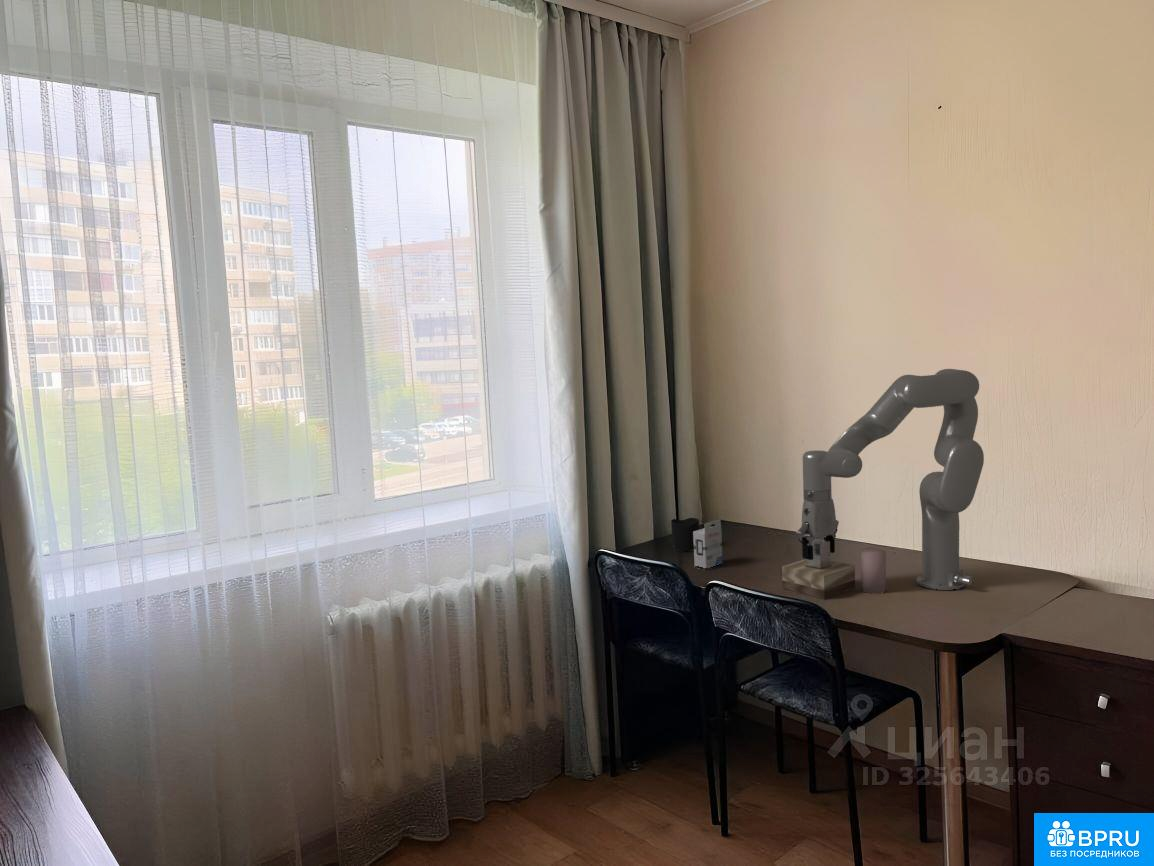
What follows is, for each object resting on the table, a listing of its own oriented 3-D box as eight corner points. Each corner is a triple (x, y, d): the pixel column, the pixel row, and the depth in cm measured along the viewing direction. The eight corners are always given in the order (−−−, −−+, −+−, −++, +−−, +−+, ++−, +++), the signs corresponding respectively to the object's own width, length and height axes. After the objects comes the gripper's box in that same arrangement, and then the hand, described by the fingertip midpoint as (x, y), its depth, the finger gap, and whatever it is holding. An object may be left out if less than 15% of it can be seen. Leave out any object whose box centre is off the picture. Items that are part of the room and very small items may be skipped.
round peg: (890, 590, 233) (890, 551, 232) (877, 595, 230) (876, 555, 228) (869, 585, 239) (869, 547, 237) (856, 590, 235) (855, 551, 233)
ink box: (710, 561, 270) (709, 516, 269) (723, 564, 267) (721, 518, 265) (693, 567, 265) (692, 521, 263) (706, 570, 261) (704, 523, 259)
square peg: (830, 579, 237) (829, 541, 236) (820, 582, 234) (820, 544, 233) (817, 576, 241) (816, 538, 239) (807, 579, 238) (806, 541, 237)
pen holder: (680, 544, 294) (679, 516, 293) (704, 547, 289) (703, 518, 288) (667, 551, 287) (666, 522, 285) (691, 554, 281) (690, 524, 280)
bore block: (855, 588, 236) (854, 565, 236) (824, 599, 228) (823, 576, 227) (813, 578, 247) (813, 556, 247) (782, 588, 239) (782, 566, 238)
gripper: (809, 502, 227) (810, 564, 228) (847, 492, 237) (848, 551, 239) (786, 498, 233) (788, 559, 234) (825, 489, 243) (826, 547, 245)
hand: (818, 555), depth 237 cm, fingers open, 9 cm apart
